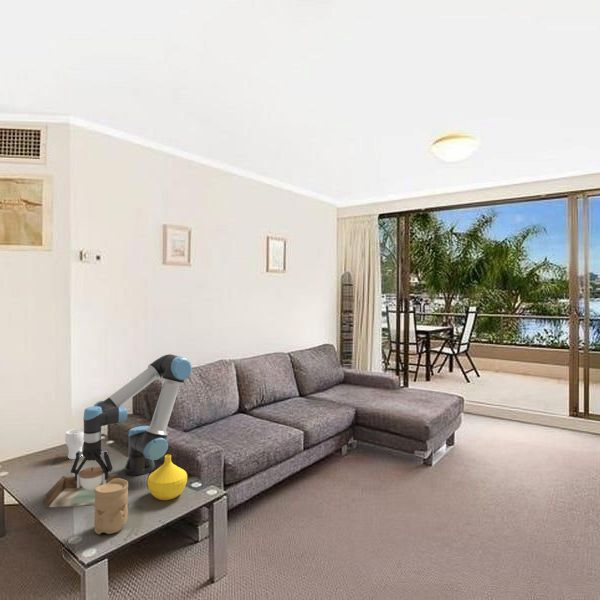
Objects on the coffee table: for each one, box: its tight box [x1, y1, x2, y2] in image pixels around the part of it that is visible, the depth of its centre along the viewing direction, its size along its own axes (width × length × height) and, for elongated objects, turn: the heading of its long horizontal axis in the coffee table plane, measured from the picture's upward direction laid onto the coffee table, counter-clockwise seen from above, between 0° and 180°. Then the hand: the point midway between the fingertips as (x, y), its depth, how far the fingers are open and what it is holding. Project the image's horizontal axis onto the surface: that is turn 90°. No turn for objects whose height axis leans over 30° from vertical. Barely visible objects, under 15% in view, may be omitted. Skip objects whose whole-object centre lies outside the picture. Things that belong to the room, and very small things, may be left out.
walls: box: [45, 473, 119, 507], centre depth 199 cm, size 26×18×6 cm
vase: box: [147, 454, 188, 501], centre depth 201 cm, size 18×18×19 cm
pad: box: [70, 489, 95, 504], centre depth 198 cm, size 14×14×1 cm
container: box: [93, 477, 129, 536], centre depth 173 cm, size 13×13×18 cm
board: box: [45, 488, 95, 508], centre depth 199 cm, size 26×18×1 cm
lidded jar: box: [79, 466, 104, 490], centre depth 198 cm, size 11×11×9 cm
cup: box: [64, 428, 84, 460], centre depth 244 cm, size 11×11×15 cm
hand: (91, 486), depth 198 cm, fingers closed on lidded jar, 11 cm apart
